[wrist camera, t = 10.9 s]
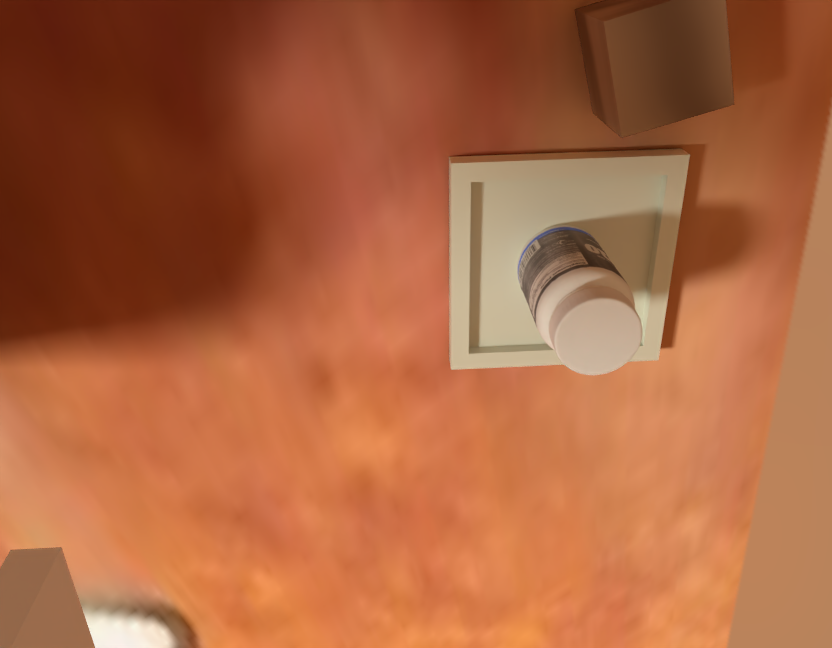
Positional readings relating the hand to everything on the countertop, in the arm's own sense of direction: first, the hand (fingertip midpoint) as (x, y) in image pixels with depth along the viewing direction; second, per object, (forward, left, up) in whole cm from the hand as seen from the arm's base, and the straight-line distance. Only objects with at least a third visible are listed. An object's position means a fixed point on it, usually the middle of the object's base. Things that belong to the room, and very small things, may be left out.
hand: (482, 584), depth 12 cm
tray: (+8, -7, -29) cm, 31 cm away
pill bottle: (+8, -7, -28) cm, 30 cm away
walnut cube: (+11, +4, -29) cm, 31 cm away
